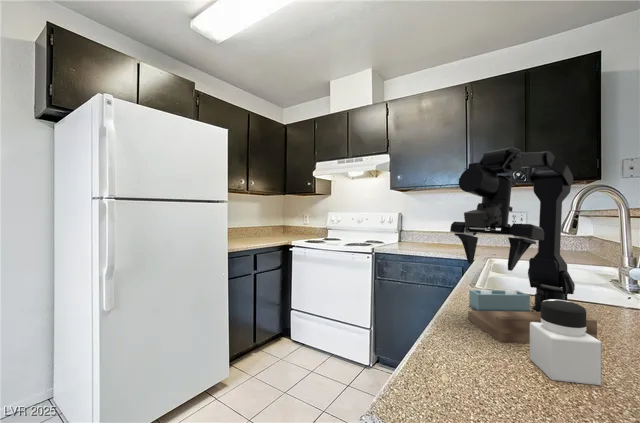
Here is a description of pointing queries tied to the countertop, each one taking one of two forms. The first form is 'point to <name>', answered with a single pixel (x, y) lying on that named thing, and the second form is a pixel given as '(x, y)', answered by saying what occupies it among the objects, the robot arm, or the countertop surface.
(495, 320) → the walnut shelf
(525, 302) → the tray
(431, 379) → the countertop surface
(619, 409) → the countertop surface
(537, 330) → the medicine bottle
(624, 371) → the countertop surface
